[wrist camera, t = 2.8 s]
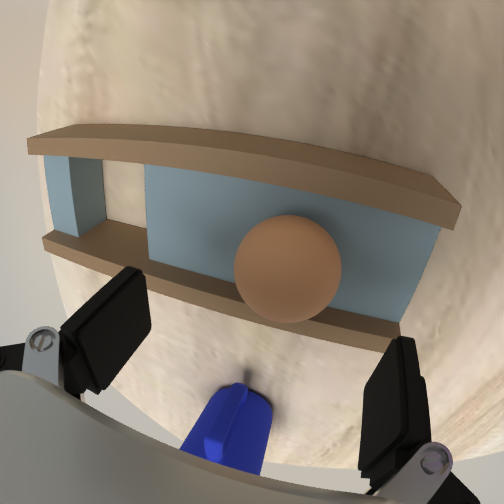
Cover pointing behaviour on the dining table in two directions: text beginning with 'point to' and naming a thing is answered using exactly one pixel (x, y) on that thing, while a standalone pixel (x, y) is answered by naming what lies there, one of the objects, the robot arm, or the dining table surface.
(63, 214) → the board
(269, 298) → the ball
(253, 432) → the mug
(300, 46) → the dining table surface
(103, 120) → the dining table surface
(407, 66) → the dining table surface
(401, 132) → the dining table surface
